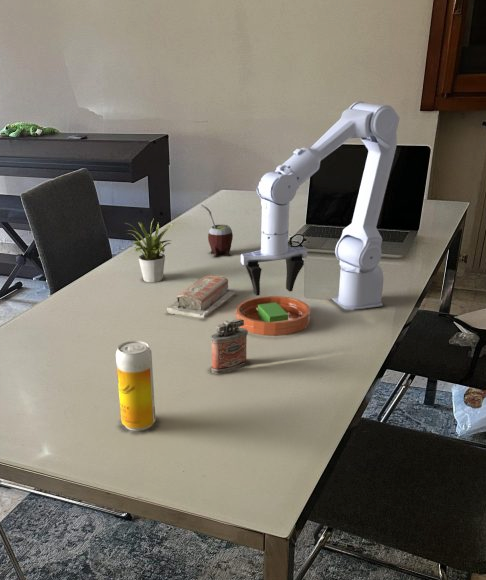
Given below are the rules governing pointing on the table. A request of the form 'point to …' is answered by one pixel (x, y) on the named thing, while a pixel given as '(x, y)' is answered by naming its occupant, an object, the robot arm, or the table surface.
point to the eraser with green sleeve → (271, 313)
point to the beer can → (135, 385)
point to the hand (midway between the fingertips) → (272, 292)
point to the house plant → (151, 254)
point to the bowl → (254, 324)
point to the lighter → (229, 347)
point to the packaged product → (202, 297)
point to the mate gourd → (219, 238)
